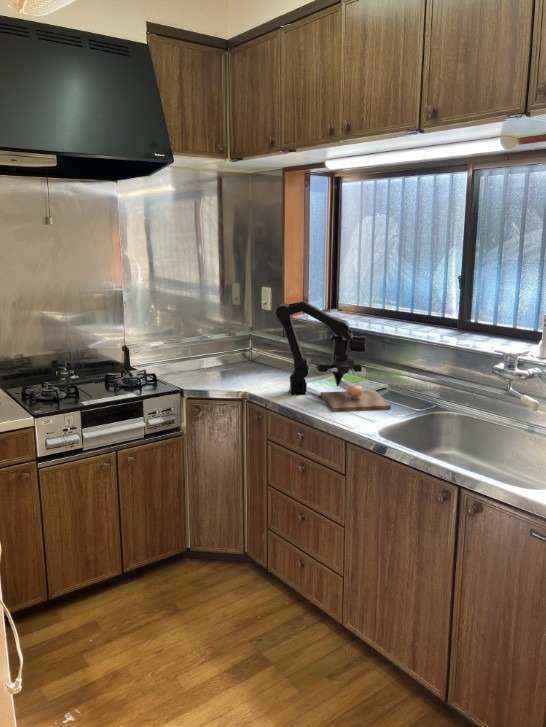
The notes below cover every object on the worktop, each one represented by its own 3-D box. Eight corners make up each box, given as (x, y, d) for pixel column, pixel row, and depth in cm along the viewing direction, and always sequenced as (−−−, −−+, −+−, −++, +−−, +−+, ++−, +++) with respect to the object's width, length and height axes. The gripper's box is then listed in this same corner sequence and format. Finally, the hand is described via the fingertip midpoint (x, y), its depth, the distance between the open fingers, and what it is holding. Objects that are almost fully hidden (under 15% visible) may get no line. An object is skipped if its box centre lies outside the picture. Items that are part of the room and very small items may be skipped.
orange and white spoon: (364, 395, 245) (364, 388, 244) (352, 396, 242) (352, 389, 242) (345, 384, 259) (345, 377, 258) (333, 385, 257) (334, 379, 256)
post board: (332, 411, 236) (332, 403, 235) (320, 395, 255) (320, 388, 254) (390, 408, 239) (391, 401, 238) (374, 393, 258) (375, 386, 257)
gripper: (323, 355, 241) (320, 392, 245) (367, 355, 244) (364, 392, 248) (316, 348, 251) (314, 384, 256) (359, 348, 254) (356, 383, 259)
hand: (337, 386), depth 254 cm, fingers closed
